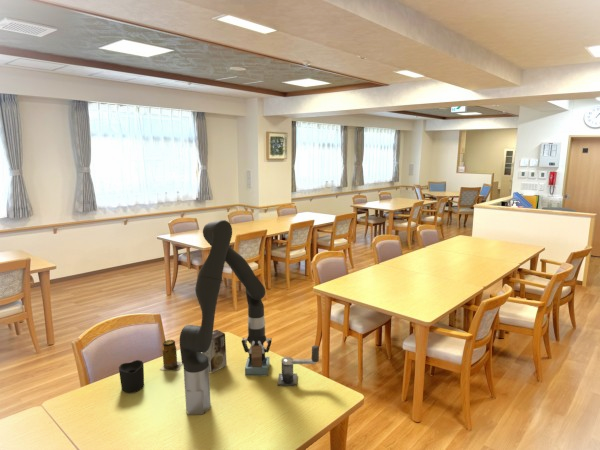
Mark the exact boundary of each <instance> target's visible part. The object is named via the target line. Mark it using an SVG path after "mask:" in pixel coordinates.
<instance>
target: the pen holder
mask: <svg viewBox="0 0 600 450" xmlns="http://www.w3.org/2000/svg"><path fill="white" fill-rule="evenodd" d="M118 372H119V380H120V386H121V391H122V392H123V393H125V394H134V393H136V392H139V391H141V390H143V388H144V386H145V373H144V372H145V371H144V362H143V361H142V360H139V359H135V360H133V361H131V362H124V363H121V364H120V365H119V367H118Z"/></svg>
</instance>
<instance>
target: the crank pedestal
mask: <svg viewBox="0 0 600 450" xmlns="http://www.w3.org/2000/svg"><path fill="white" fill-rule="evenodd" d="M277 378H278V380H277V387H297V384H298V382H297V380H298V373H294V364H293V365H291V366H284V365H282V364H281V373H278V377H277Z"/></svg>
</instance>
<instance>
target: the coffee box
mask: <svg viewBox="0 0 600 450" xmlns="http://www.w3.org/2000/svg"><path fill="white" fill-rule="evenodd" d="M226 347H227V346H226V333H225V332H223V331H221V330H218V329H215V330H213V335H212V341H211V345H210V347H209V349H208V350H207V351H206V352H201V353H203V354H204V355H206V356H207V357H208V361H209V374H213V373H215V372H217V371H218V370H220V369H222V368H224V367H226V366H227V348H226Z"/></svg>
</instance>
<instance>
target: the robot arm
mask: <svg viewBox="0 0 600 450" xmlns="http://www.w3.org/2000/svg"><path fill="white" fill-rule="evenodd" d="M202 235H203V238H204V239H205V241H206V242H207V243H208V245H210V251H209V254H208V255H207V258H206V259H205V261H204V262H203V264H202V266H201V267H200V269H199V271H198V274H197V278H196V282H195V288H194V289H195V295H196V299H197V301H198V304H199V306H200V310H201V325H200V326H199V325H193V324H187V325H185V326H183V327H182V329H181V330H180V334H179V349H180V351H179V352H180V358H181V359H180V360H181V362H182V366H183V376H184V377H183V378H184V397H185V411H186V413H187V415H204V414H205V413H206V412H208V410H210V408H211V387H210V386H211V385H210V372H209V361H208V357H207V356H206V355H204V354H203V353H202V352H206V351H207V350H208V349H209V347H210V345H211V341H212V335H213V331H214V327H215V326H214V324H215V314H216V308H217V303H218V300H219V299H218V297H219V293H220V289H221V283H222V277H223V272H224V267H225V263H226V264H227V265H228V266H229V268H230V269H231V271H232V272H233V273H234V275H235V276H236V278H237V279H238V280H239V281H240V283H241V284H242V285H243V287H245V296H246V301H247V314H248V315H247V316H248V317H247V337H246V338H245V337H242V339H241V344H242V347H243V350H244V353H248V357H249V360H251V361H252V356H251V346H254V345H259V346H261V348H262V361H263V360H265V357H266V353H269V351H270V348H271V345H272V341H273V338H272V337H269V338H268V337H267V336H266V320H265V306H264V303H263V301H262V299H264V297H265V295H266V288H265V286H264V285H263V283H262V282H261V281H260V279H259V278H258V277H257V275H256V274H255V273H254V271H253V269H252V267H251V266H250V265H249V263H248V261H247V260H246V259H245V258H244V257H243V256H241V254H239V253H238V252H237V251H236V250H235V249H234V248H232V247H231V242H232V241H231V240H232V236H233V227H232V225H231V223H230V222H229V221H228V220H226V219H225V220H223V219H221V220H216V221H215V220H214V221H210V222H208V223H206V224H205V225H204V226H203V229H202ZM265 342H266V344H267V345H266V348H265ZM247 343H249V344H250V346H249V347H248V344H247Z"/></svg>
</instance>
